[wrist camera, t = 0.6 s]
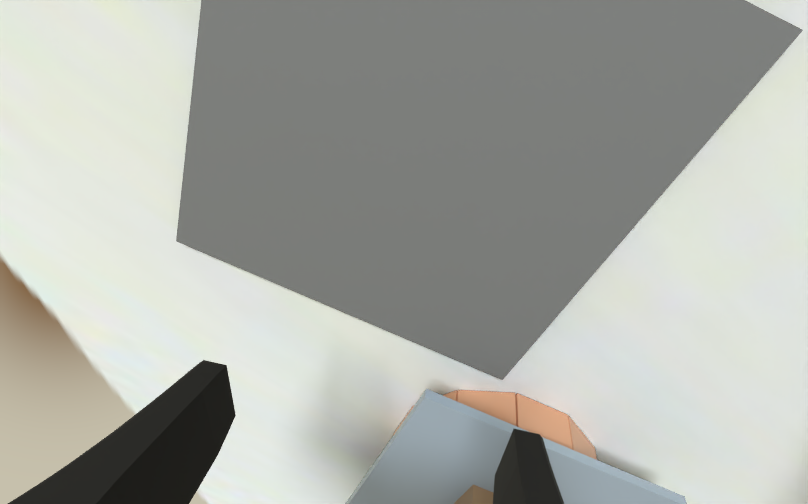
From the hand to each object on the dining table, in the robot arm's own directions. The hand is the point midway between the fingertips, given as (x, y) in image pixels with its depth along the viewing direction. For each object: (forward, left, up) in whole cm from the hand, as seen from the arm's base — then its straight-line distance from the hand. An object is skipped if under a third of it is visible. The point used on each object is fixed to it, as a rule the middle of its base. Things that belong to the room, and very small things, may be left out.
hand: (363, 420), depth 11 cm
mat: (+2, -2, -10) cm, 11 cm away
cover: (-10, +14, -7) cm, 19 cm away
